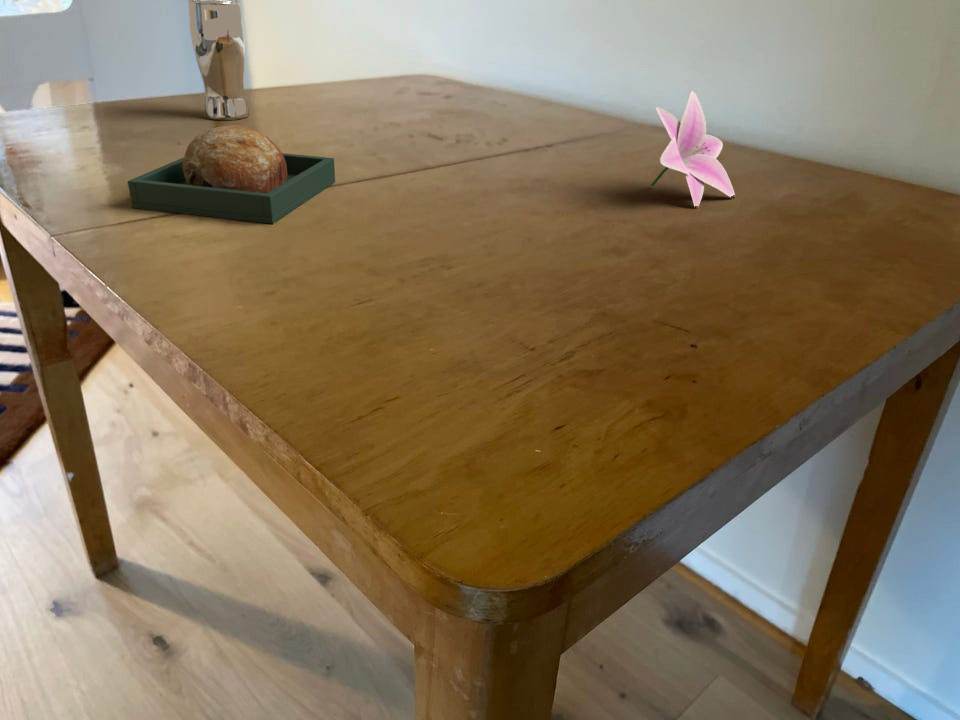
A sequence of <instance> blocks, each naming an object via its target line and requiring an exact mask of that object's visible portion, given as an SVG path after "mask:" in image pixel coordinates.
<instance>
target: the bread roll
mask: <svg viewBox="0 0 960 720" xmlns="http://www.w3.org/2000/svg"><path fill="white" fill-rule="evenodd" d="M282 153H283V152H282V151H281V150H280V148H279V147H278V145H277V144H276V143H275V142H274V141H272V140H271V139H270V137H268V136H266V135H264V134H263V133H261V132H260V131H258V130H256V129H253V128H251V127H247V126H244V125H239V124H238V125H237V124H230V125H221V126H215V127H213V128H209V129H207V130H205V131H203V133H200V134H198V135H197V136H195V137H194V138H193V139H192V140H191V141H190V142H189V144H188V145H187V148H186V150H185V153H184V160H183V163H182V168H183V172H184V176H185V180H186V183H187V185H193V186H202V187H212V188H221V189H230V190H240V191H249V192H258V193H268V192H270V191H271V190H273V189H275V188H276V187H278V186H280V185H282V184H283V183H285V182H286V179H287V165H286V162H285V159H284V155H283V154H282Z"/></svg>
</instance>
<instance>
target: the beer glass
mask: <svg viewBox="0 0 960 720" xmlns="http://www.w3.org/2000/svg"><path fill="white" fill-rule="evenodd" d="M187 4H188V20H189V21H188V22H189V31H190V40H191V45H192V49H193V52H194V53H193V54H194V56H195V60H196V63H197V66H198V70H199V74H200V76H201V81H202V84H203V89H204V99H205V100H204V101H205V102H204V116H205V118H206V119H208V120H213V121H237V120H242V119H243V120H244V119H246V118H248V117H250V111H249V107H248V104H247V101H246V97H245V96H246V95H245V87H244V75H245V60H246V41H245V29H244V23H243V17H242V12H241V6H240V1H239V0H188V1H187Z"/></svg>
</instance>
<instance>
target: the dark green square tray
mask: <svg viewBox="0 0 960 720" xmlns="http://www.w3.org/2000/svg"><path fill="white" fill-rule="evenodd" d="M282 154H283V155H284V159H285V162H286V165H287V179H286V182H285V183H283V184H282V185H280V186H278V187H276V188H275V189H273V190H271V191H270V192H268V193H258V192H249V191H240V190H230V189H221V188H212V187H202V186H193V185H187V183H186V180H185V176H184V172H183V168H182V163H183V160H184V157H181V158H178V159H177V160H174V161H172V162H170V163H167V164H164V165H163V166H159V167H157V168H155V169H152V170H150V171H148V172H146V173H144V174H141V175H139V176H136V177H134V178H132V179H129V180H127V187H128V192H129V197H130V201H131V202H130V203H131V208H132V209H141V210H149V211H157V212H167V213H174V214H176V213H177V214H183V215H192V216H202V217H208V218H209V217H210V218H218V219H228V220H237V221H244V222H253V223H254V222H256V223H261V224H269V225H270V224H271V225H273V224H275V223H276V222H278V221H279V220H282V219H283V218H284V217H285V216H287V215H288V214H290V213H291V212H293V211H294V210H296V209H298V208H299V207H300V206H302V205H304V204H305V203H306V202H308V201H309V200H311V199H312V198H314V197H315V196H317V195H318V194H320V193H321V192H323V191H324V190H326V189H327V188H329V187H330V186H332V185H333V184H334V183H336V171H335V168H336V167H335V158H334V157H326V156H316V155H305V154H294V153H285V152H282Z"/></svg>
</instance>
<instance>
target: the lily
mask: <svg viewBox="0 0 960 720" xmlns="http://www.w3.org/2000/svg"><path fill="white" fill-rule="evenodd" d="M655 109H656V110H655V111H657V112H656V113H657V114H658V116H659V118H660V120H661V122H662V123H663V126H664V128H665V129H666V132H667V133H668V136H669V137H670V142H669V143H668V145H667V146H666V147H665V149H664V151H663V152H662V154H661V156H660V159H659V162H660V164H661V165H662V166H664V167H665V168H663V169H662V170H661V172H659V174H658V175H657V176H656V178H655V179H654V180H653V181H652V182H651V184H650V185H651V186H653V187H654V186H655V185H656V183H657V182H658V181H659V180H660V178H661V177H662V176H663V175H664V174H665V172H667V171H668V170H669V169H670V170H673V171H678V172H681V173H683V174H684V176H685V178H686V182H687V186H688V189H689V192H690V196H691V200H692V202H693V206H694V207H695V206H698V207H699V206H700V204H701V201H702V199H703V195H704V192H705V184H707V185H708V186H711V187H713V188H715V189H716V190H718V191H720V192H721V193H723V194H724V195H726V196H728V197H729V198H731V196H733V195H735V196H736V194H735V190H734V186H733V185H732V182H731V179H730V177H729V175H728V173H727V171H726V169H725V168H724V166H723V164H722V163H721V162H720V161H719V160H718V159H717V158H718V157H719V156H720V154H721V152H722V150H723V148H724V144H723V143H724V142H723V141H722V140H720V138H718V137H716V136H713V135H711V134H708V133H707V122H706V116H705V114H704V111H703V107H702V104H701V102H700V100H699V97H698V95H697V94H696V92H695V91H694V90H693V91H691V92H690V94H689V97H688V100H687V104H686V107H685V110H684V112H683V115H682V118H681V121H680V120H679V119H678V118H677V117H676V116H675V115H674V114H672V113H670V112H669V111H667V110H666V109H664V108H662V107H659V106H656V107H655Z"/></svg>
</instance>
